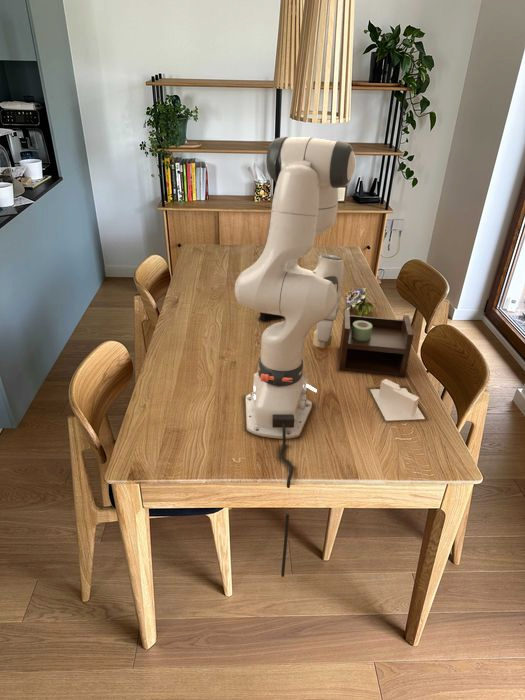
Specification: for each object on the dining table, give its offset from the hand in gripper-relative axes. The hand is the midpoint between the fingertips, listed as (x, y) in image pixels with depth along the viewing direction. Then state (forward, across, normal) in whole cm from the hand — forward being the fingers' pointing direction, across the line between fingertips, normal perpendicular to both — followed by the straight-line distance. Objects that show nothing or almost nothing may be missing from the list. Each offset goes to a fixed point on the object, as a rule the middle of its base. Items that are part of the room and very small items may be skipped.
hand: (322, 340), depth 168 cm
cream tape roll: (+1, 0, 0) cm, 1 cm away
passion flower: (+3, -31, +13) cm, 34 cm away
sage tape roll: (-7, +8, +12) cm, 16 cm away
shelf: (+3, +7, +16) cm, 18 cm away
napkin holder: (+3, +28, +22) cm, 36 cm away
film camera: (+3, -22, -19) cm, 29 cm away
